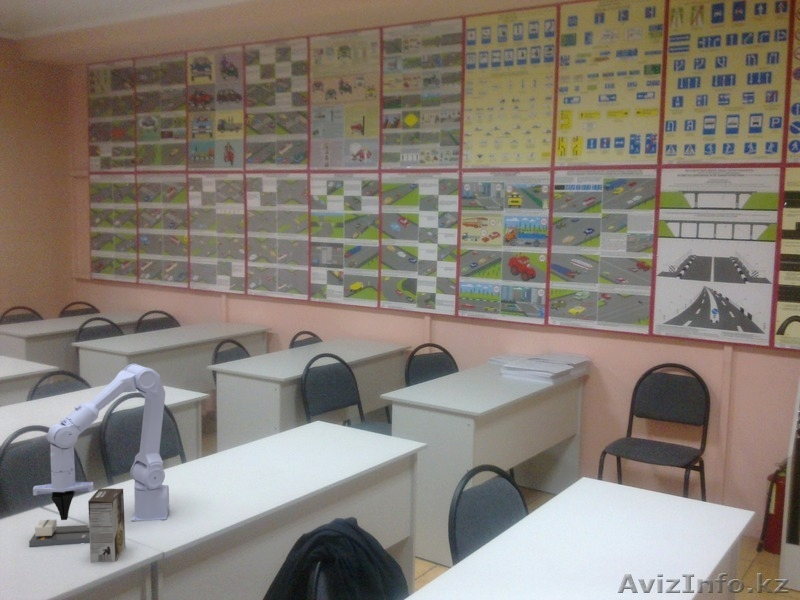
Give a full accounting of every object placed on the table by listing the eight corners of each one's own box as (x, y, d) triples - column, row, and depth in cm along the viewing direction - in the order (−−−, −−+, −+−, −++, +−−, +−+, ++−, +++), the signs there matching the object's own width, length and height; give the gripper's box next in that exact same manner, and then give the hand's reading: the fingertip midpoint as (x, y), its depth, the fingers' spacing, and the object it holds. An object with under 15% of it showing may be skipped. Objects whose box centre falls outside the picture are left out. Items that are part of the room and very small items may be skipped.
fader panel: (101, 529, 207) (101, 524, 207) (94, 543, 199) (94, 537, 198) (39, 532, 205) (39, 527, 204) (29, 546, 196) (29, 540, 196)
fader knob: (56, 527, 203) (56, 518, 203) (51, 535, 198) (51, 526, 198) (40, 528, 203) (40, 519, 202) (35, 536, 198) (35, 527, 197)
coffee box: (100, 549, 195) (98, 488, 194) (126, 548, 196) (124, 487, 195) (89, 564, 186) (86, 500, 185) (116, 563, 187) (114, 499, 186)
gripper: (94, 462, 205) (95, 510, 207) (36, 466, 202) (38, 515, 203) (90, 470, 198) (92, 520, 200) (30, 474, 195) (32, 525, 196)
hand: (64, 518), depth 201 cm, fingers closed
